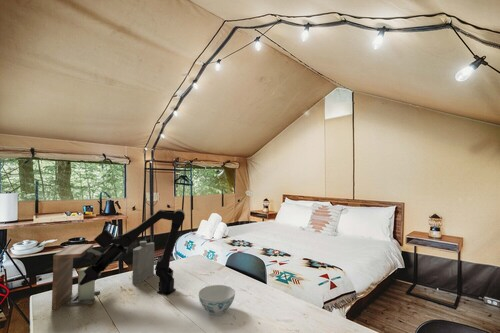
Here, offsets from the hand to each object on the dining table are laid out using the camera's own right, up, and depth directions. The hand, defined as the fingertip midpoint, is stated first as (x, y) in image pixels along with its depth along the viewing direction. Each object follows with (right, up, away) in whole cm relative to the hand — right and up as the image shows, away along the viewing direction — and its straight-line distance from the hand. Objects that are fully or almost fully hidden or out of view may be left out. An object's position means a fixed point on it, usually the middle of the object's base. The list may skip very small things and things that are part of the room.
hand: (83, 281), depth 118 cm
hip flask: (+17, -9, +24) cm, 31 cm away
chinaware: (+61, -9, -9) cm, 62 cm away
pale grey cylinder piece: (+1, -8, 0) cm, 8 cm away
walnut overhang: (-2, -8, -1) cm, 8 cm away
